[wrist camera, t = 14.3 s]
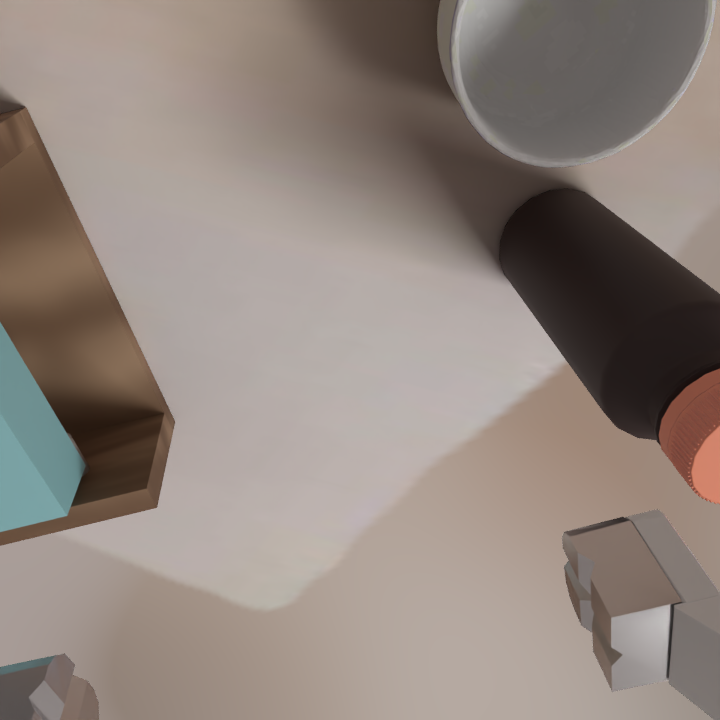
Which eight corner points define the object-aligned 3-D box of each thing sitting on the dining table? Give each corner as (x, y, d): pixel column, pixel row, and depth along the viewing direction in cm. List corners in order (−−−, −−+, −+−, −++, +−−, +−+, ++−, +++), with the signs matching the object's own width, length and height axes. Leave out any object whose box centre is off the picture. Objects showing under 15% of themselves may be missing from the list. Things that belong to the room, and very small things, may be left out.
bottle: (546, 311, 42) (728, 549, 25) (474, 251, 39) (624, 474, 23) (628, 231, 40) (889, 435, 23) (557, 162, 37) (794, 336, 20)
